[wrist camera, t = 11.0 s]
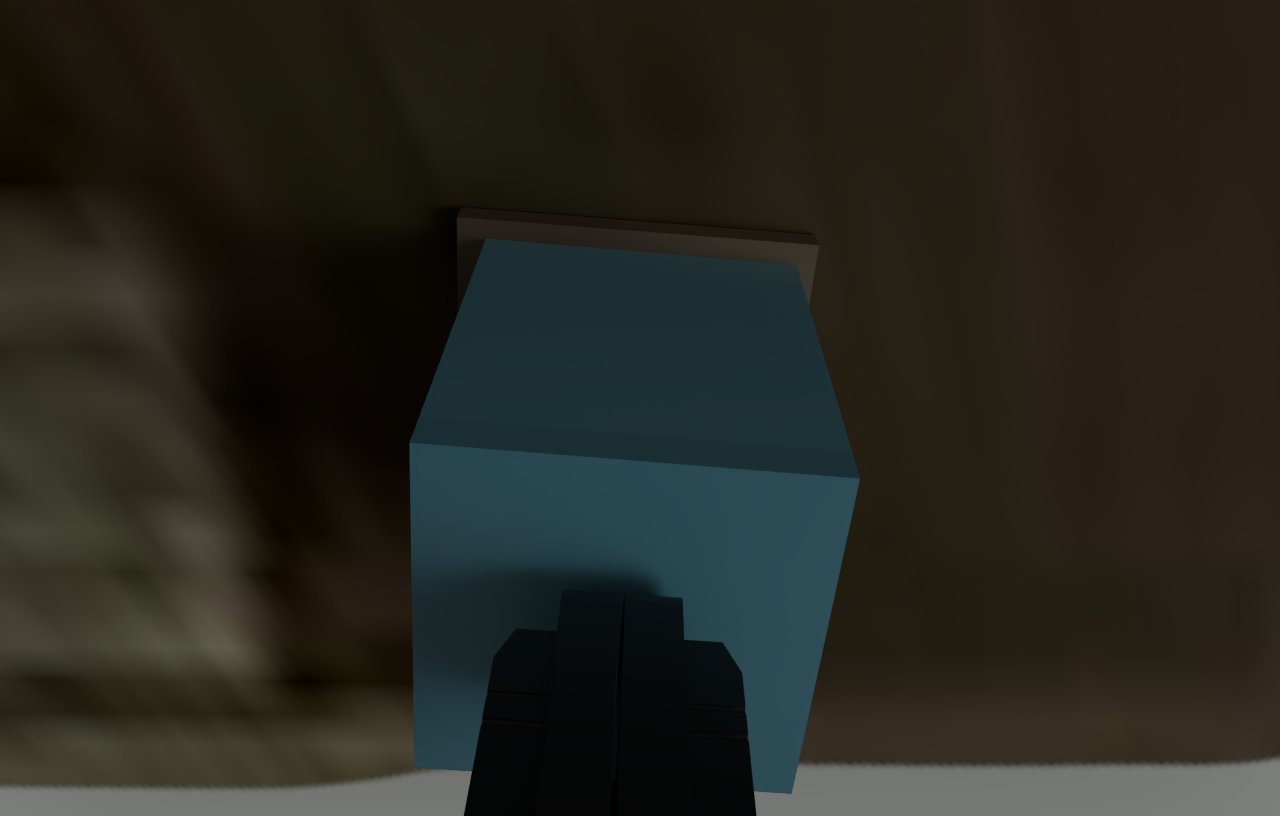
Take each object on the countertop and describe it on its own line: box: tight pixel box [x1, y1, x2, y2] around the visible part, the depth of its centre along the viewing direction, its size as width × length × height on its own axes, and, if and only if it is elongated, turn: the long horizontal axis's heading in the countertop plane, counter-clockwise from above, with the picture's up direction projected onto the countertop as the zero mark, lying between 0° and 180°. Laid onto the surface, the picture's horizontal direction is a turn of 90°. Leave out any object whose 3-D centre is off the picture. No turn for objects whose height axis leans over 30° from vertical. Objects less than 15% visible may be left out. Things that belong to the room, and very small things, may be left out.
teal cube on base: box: [409, 239, 860, 794], centre depth 17 cm, size 5×5×7 cm
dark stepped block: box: [457, 207, 819, 314], centre depth 17 cm, size 6×6×6 cm
